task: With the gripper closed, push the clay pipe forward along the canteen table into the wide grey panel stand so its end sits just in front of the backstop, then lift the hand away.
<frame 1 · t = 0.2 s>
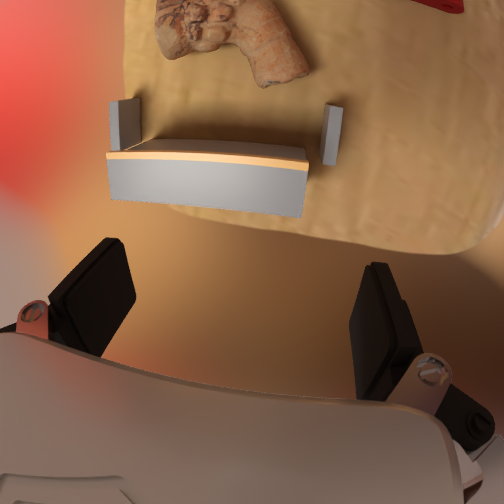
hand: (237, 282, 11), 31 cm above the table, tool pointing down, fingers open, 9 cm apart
grey panel stand: (223, 157, 39), on the table
clay pipe: (230, 38, 30), on the table
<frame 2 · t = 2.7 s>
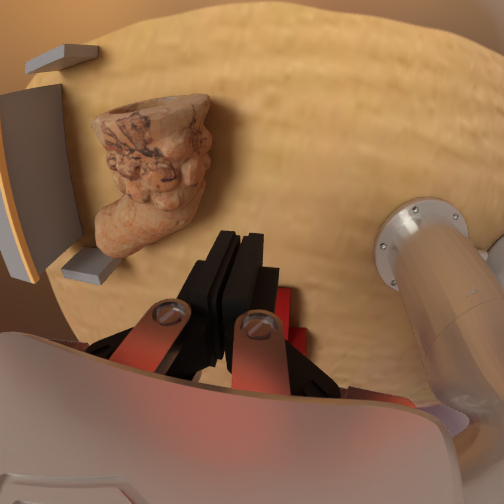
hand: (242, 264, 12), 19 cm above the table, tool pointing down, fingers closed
mechanical linkage: (280, 324, 40), on the table
turbocharger housing: (503, 275, 30), on the table
grey panel stand: (56, 163, 32), on the table
clay pipe: (161, 160, 30), on the table
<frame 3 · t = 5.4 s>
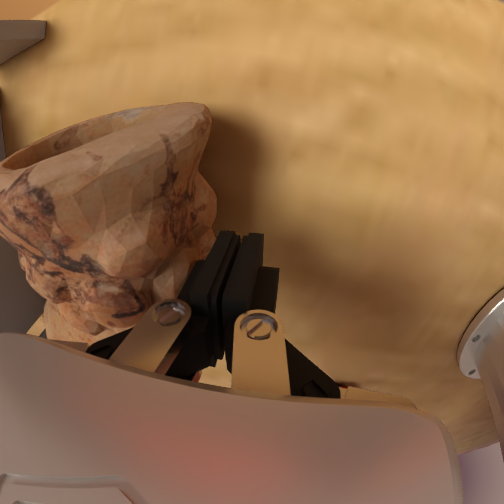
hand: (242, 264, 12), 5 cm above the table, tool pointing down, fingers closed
grey panel stand: (4, 205, 19), on the table
clay pipe: (131, 218, 18), on the table
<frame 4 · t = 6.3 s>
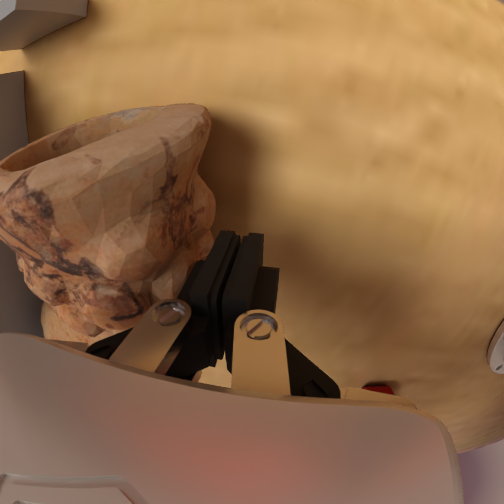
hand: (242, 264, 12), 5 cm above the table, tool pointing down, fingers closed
grey panel stand: (24, 205, 18), on the table
clay pipe: (129, 219, 18), on the table, touching gripper
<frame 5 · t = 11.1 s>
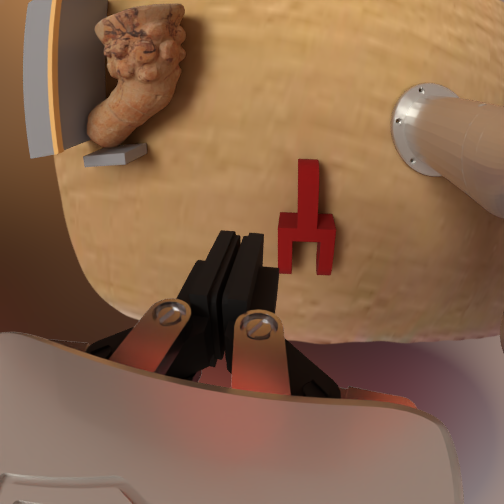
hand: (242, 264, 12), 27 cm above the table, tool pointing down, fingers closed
mechanical linkage: (306, 211, 39), on the table
grey panel stand: (92, 67, 31), on the table
clay pipe: (147, 67, 31), on the table
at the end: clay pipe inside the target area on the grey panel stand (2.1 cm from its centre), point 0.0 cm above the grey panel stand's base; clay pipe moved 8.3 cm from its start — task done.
